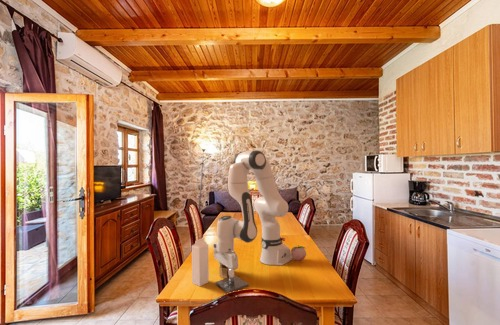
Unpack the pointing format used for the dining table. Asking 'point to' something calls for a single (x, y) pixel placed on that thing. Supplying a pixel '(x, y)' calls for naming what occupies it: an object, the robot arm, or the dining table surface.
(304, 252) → the decorative fruit
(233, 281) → the grey peg stand
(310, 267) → the dining table surface
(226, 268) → the collar
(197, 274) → the milk
